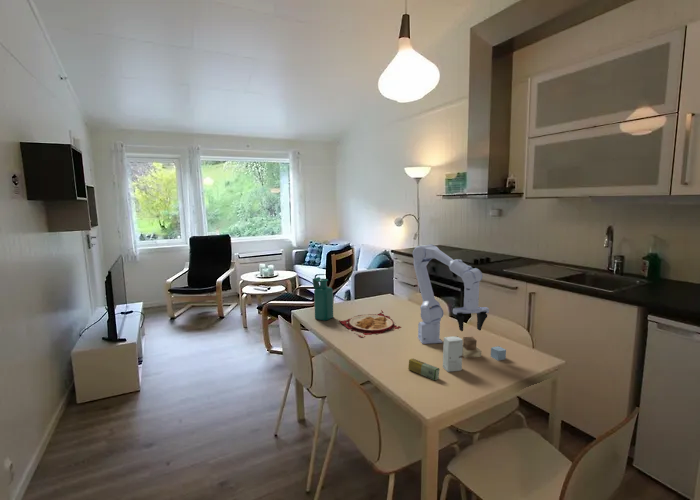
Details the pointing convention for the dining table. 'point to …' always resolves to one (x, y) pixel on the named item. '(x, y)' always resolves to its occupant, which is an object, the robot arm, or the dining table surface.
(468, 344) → the walnut block
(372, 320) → the plate with food
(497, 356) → the slate block
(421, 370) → the medication box
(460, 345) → the skincare box
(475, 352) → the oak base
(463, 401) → the dining table surface
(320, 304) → the green tall canister
